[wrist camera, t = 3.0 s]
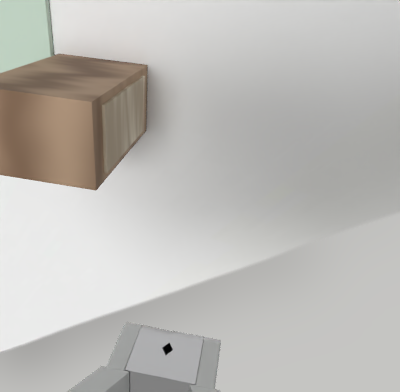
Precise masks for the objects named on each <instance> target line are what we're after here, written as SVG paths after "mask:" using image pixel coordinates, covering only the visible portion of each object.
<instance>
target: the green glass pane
mask: <svg viewBox="0 0 400 392" xmlns="http://www.w3.org/2000/svg"><path fill="white" fill-rule="evenodd" d="M51 56H54V50H53V40H52V29H51V19H50V8H49V0H0V73H2V72H5V71H8V70H11V69H14V68H18V67H21V66H24V65H27V64H30V63H33V62H36V61H39V60H42V59H45V58H48V57H51Z"/></svg>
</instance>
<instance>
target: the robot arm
mask: <svg viewBox="0 0 400 392" xmlns="http://www.w3.org/2000/svg"><path fill="white" fill-rule="evenodd" d="M220 344H221V341H220V340H217V339H213V338H207V337H204V336H198V335H193V334H187V333H181V332H175V331H168V330H164V329H159V328H154V327H150V326H145V325H141V324H136V323H131V322H126V323H125V325H124V326H123V328H122V331H121V333H120V335H119V338H118V340H117V342H116V345H115V347H114V350H113V352H112V354H111V357H110V359H109V361H108V364H107V366H106V367H104V366H101V367H99V368H98V369H97V370H96V371H94V372H93V373H92V374H90V375H89V376H87V377H86V378H85V379H83V380H82V381H81V382H80V383H78V384H77V385H75V386H74V387H73V388H71V389H70V390H69V391H68V392H220V391H219V390H216V389H215V382H216V375H217V367H218V360H219V351H220Z"/></svg>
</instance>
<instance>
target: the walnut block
mask: <svg viewBox="0 0 400 392" xmlns="http://www.w3.org/2000/svg"><path fill="white" fill-rule="evenodd" d="M146 104H147V65H143V64H135V63H127V62H120V61H112V60H104V59H96V58H89V57H81V56H73V55H65V54H57V55H54V56H51V57H48V58H45V59H42V60H39V61H36V62H33V63H30V64H27V65H24V66H21V67H18V68H14V69H11V70H8V71H5V72H2V73H0V175H4V176H11V177H17V178H23V179H29V180H35V181H41V182H48V183H54V184H60V185H66V186H72V187H79V188H85V189H91V190H97V189H98V188H99V186H100V185H101V184H102V183H103V182H104V180H105V179H106V178H107V177H108V176H109V174H110V173H111V172H112V171H113V170H114V168H115V167H116V166H117V165H118V164H119V162H120V161H121V160H122V159H123V158H124V156H125V155H126V154H127V153H128V152H129V150H130V149H131V148H132V147H133V146H134V145H135V143H136V142H137V141H138V140H139V139H140V137H141V136H142V135H143V134H144V133H145V131H146Z"/></svg>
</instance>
